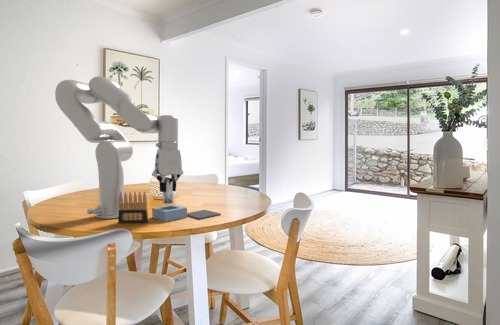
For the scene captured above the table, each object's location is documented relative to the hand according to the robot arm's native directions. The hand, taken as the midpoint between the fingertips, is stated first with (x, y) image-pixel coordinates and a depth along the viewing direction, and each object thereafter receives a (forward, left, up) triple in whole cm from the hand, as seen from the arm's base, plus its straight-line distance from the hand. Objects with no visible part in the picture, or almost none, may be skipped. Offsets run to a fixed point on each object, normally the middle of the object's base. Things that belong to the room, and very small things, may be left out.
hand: (168, 190), depth 128 cm
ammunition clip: (-14, +3, -11) cm, 18 cm away
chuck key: (0, 0, -5) cm, 5 cm away
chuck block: (0, 0, -11) cm, 11 cm away
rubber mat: (+12, -6, -11) cm, 18 cm away
